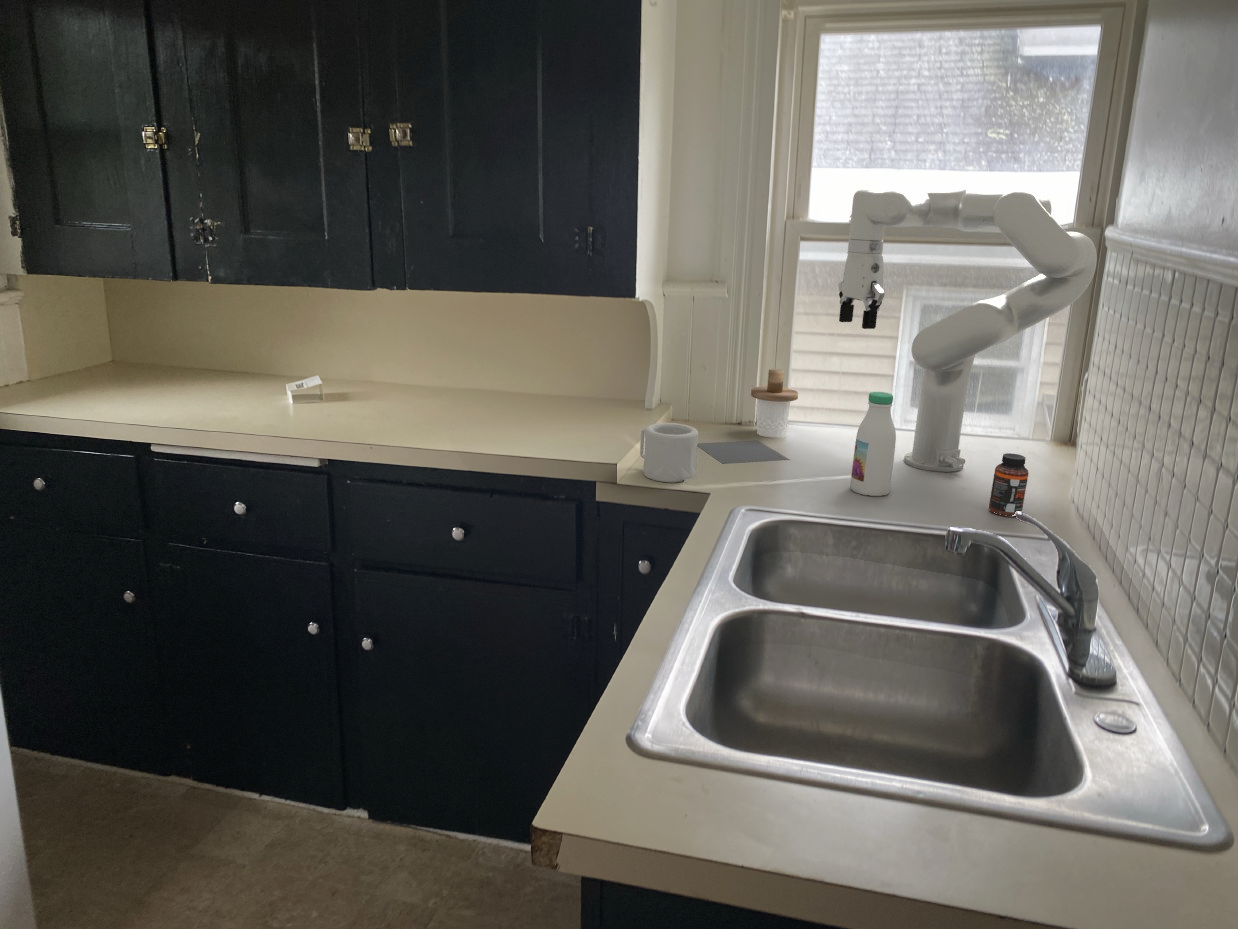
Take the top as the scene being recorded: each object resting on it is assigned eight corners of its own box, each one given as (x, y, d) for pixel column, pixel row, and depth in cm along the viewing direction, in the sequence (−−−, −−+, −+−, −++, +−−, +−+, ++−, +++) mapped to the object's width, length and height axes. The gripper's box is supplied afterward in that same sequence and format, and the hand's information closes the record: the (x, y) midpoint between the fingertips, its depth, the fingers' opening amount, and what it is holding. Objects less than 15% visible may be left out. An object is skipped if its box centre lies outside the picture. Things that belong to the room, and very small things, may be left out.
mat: (789, 463, 209) (789, 459, 209) (722, 467, 205) (722, 463, 204) (757, 443, 224) (757, 440, 224) (693, 446, 219) (694, 443, 219)
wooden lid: (806, 400, 224) (808, 374, 222) (763, 402, 221) (765, 376, 219) (784, 390, 234) (786, 365, 232) (743, 392, 231) (745, 366, 229)
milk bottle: (890, 488, 195) (902, 392, 189) (888, 499, 188) (900, 399, 182) (852, 483, 197) (862, 387, 191) (847, 494, 190) (859, 395, 184)
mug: (705, 476, 198) (709, 429, 195) (672, 487, 190) (675, 438, 187) (656, 461, 207) (658, 416, 204) (622, 471, 199) (624, 424, 196)
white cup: (786, 442, 226) (790, 401, 223) (753, 439, 227) (756, 398, 224) (787, 434, 233) (791, 394, 230) (755, 431, 235) (758, 391, 232)
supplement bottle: (1018, 520, 179) (1028, 462, 176) (985, 513, 182) (994, 456, 179) (1024, 511, 184) (1033, 455, 181) (991, 505, 187) (1000, 449, 184)
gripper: (902, 251, 206) (892, 331, 211) (859, 245, 221) (851, 319, 226) (871, 251, 203) (862, 331, 208) (830, 244, 219) (823, 319, 224)
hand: (856, 325), depth 217 cm, fingers open, 9 cm apart
